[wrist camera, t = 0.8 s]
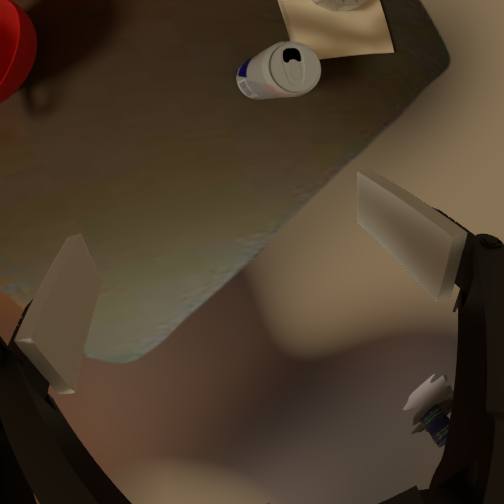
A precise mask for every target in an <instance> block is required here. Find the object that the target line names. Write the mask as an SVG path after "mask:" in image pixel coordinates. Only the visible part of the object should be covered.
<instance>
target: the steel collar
mask: <svg viewBox="0 0 504 504" xmlns="http://www.w3.org/2000/svg"><path fill="white" fill-rule="evenodd" d="M312 1H313V2H314V3H315V4H316V5H318V6H320V7H323V8H325V9H327V10H330V11H332V12H335V11H349V10H351V9H354V8H356V7H359V6H361V5H362V4H363V3H365V2H366V1H367V0H312Z"/></svg>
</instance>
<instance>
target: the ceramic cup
mask: <svg viewBox="0 0 504 504" xmlns="http://www.w3.org/2000/svg"><path fill="white" fill-rule="evenodd" d="M36 52H37V36H36V30H35V28H34V25H33V23H32V21H31V19H30V18H29V17H28V15H27V14H26V13H25V12H24V10H23V9H22V8H20V7H19V6H18V5H17V4H15V3H14V2H12V1H11V0H0V103H1V102H3V101H5V100H6V99H8V98H9V97H10V96H11V95H12V94H13V93H15V92H16V91H17V90H18V88H19V87H20V86H21V85H22V84H23V82H24V81H25V79H26V78H27V76H28V75H29V73H30V71H31V69H32V66H33V63H34V61H35V57H36Z"/></svg>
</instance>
